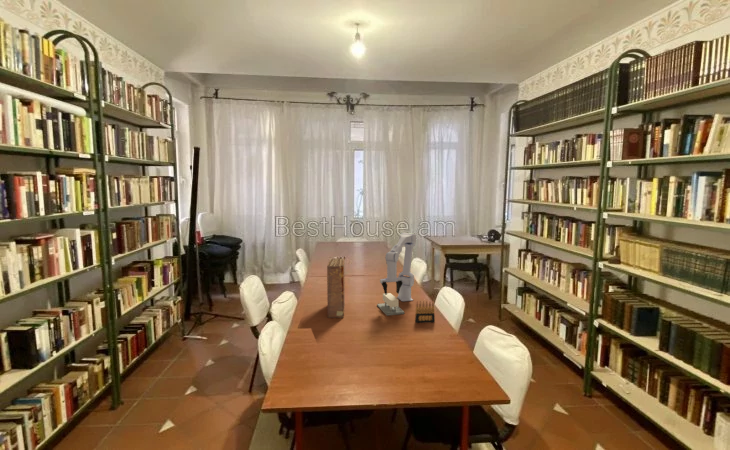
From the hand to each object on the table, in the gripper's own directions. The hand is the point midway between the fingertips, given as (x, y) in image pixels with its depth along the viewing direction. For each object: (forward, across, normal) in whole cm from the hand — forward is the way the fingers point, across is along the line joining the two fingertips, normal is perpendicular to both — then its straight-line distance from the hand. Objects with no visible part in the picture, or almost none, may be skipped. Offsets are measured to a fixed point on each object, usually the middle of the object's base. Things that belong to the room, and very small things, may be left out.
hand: (391, 293), depth 230 cm
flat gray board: (+10, -1, -1) cm, 10 cm away
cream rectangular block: (+6, -1, -1) cm, 6 cm away
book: (+10, -33, +7) cm, 35 cm away
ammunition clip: (+10, +10, -25) cm, 29 cm away
